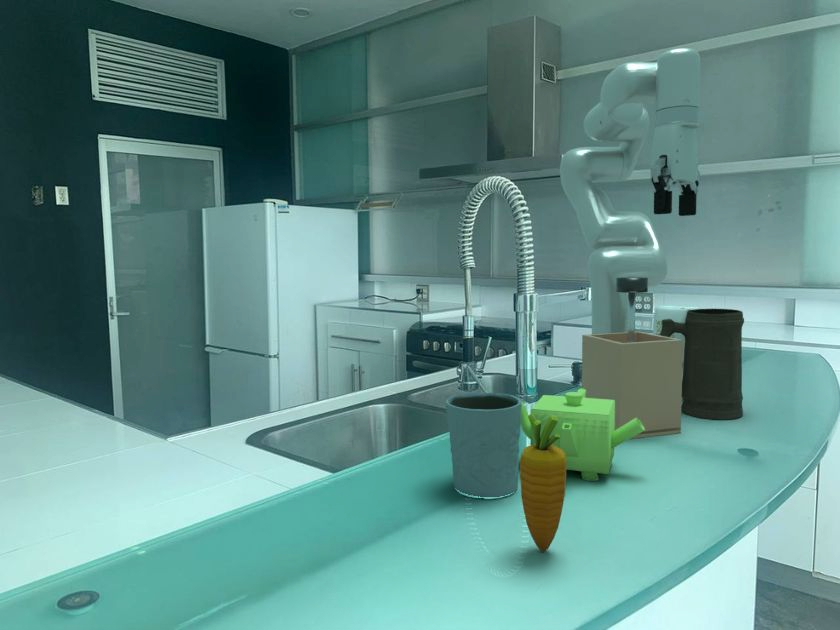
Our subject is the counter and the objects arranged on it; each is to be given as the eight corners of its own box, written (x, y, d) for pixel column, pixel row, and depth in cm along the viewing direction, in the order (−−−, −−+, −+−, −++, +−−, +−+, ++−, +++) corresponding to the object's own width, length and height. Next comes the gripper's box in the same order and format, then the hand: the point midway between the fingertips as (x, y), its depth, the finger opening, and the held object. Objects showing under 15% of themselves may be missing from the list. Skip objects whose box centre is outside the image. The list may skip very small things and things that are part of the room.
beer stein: (734, 405, 127) (730, 305, 125) (757, 420, 116) (753, 310, 114) (654, 410, 128) (649, 311, 126) (669, 424, 118) (664, 317, 116)
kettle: (502, 461, 97) (502, 388, 95) (577, 447, 103) (578, 378, 101) (565, 495, 83) (566, 410, 82) (647, 477, 89) (649, 398, 88)
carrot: (514, 541, 70) (514, 408, 69) (558, 539, 71) (559, 406, 69) (525, 564, 65) (526, 420, 64) (573, 561, 66) (574, 418, 64)
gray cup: (504, 507, 79) (504, 413, 78) (433, 493, 84) (431, 404, 83) (532, 480, 88) (532, 395, 87) (465, 469, 93) (465, 388, 92)
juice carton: (663, 389, 142) (665, 304, 140) (703, 395, 136) (705, 306, 134) (647, 395, 136) (649, 306, 134) (688, 401, 130) (690, 309, 128)
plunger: (593, 362, 115) (594, 277, 114) (637, 359, 118) (638, 275, 116) (622, 372, 106) (624, 279, 105) (669, 368, 109) (672, 278, 107)
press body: (574, 418, 120) (575, 333, 118) (630, 412, 123) (631, 329, 121) (619, 439, 106) (621, 344, 104) (680, 432, 109) (683, 340, 108)
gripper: (679, 129, 127) (677, 217, 128) (634, 118, 115) (633, 214, 117) (717, 123, 121) (715, 215, 123) (674, 110, 109) (672, 212, 111)
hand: (675, 214), depth 120 cm, fingers open, 9 cm apart
